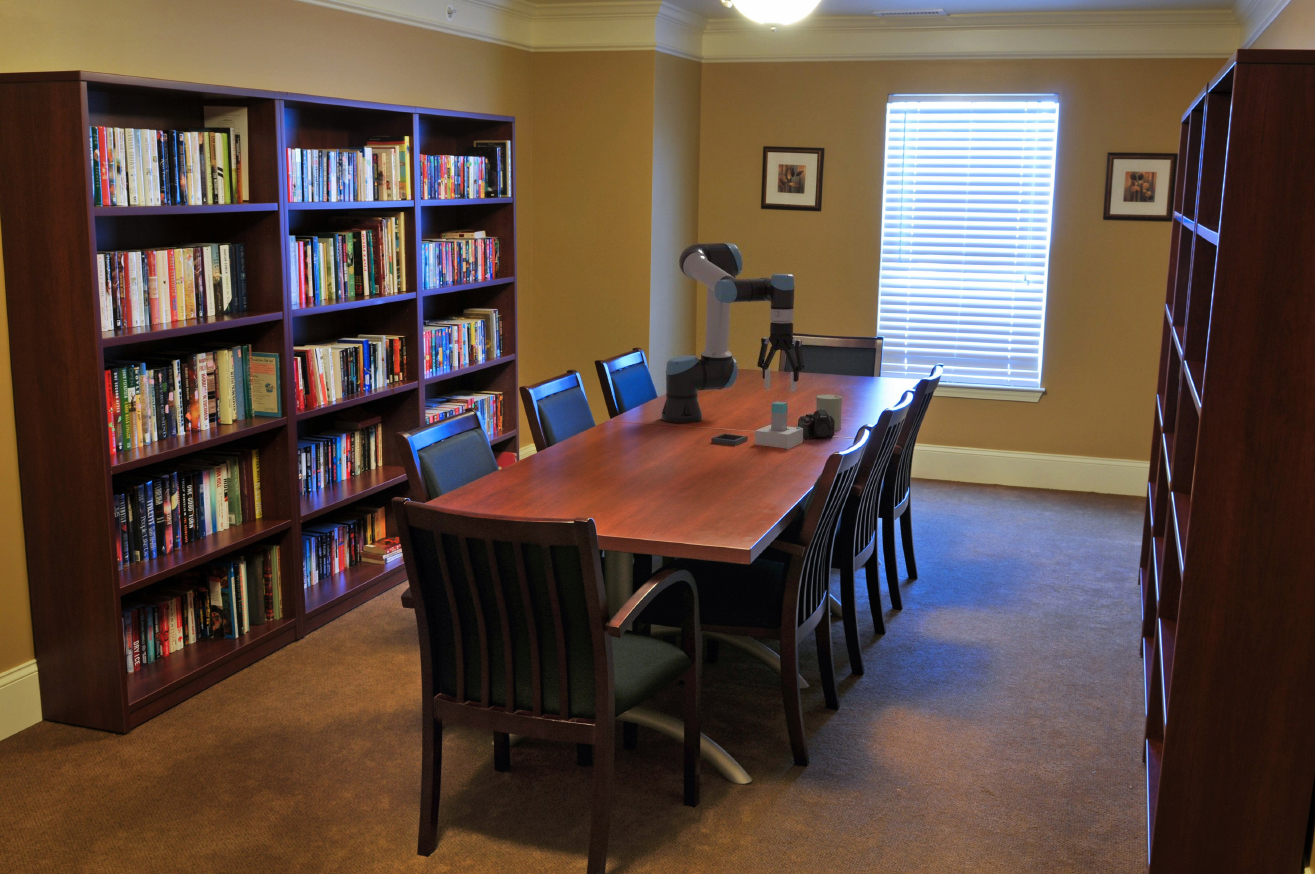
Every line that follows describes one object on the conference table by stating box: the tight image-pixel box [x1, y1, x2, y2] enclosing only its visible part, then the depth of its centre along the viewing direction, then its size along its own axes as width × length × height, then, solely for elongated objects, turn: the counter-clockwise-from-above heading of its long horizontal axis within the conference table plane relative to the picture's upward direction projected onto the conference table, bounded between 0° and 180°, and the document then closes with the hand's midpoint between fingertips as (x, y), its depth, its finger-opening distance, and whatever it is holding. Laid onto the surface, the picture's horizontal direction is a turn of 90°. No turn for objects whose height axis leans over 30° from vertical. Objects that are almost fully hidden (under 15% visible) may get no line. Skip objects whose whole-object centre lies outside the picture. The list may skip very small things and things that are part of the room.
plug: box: [770, 401, 789, 432], centre depth 368 cm, size 4×4×13 cm
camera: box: [797, 409, 835, 441], centre depth 379 cm, size 13×10×10 cm
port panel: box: [754, 424, 804, 450], centre depth 369 cm, size 12×12×5 cm
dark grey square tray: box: [710, 433, 749, 447], centre depth 371 cm, size 9×9×2 cm
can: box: [815, 394, 843, 432], centre depth 394 cm, size 9×9×12 cm
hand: (780, 389), depth 366 cm, fingers open, 9 cm apart
